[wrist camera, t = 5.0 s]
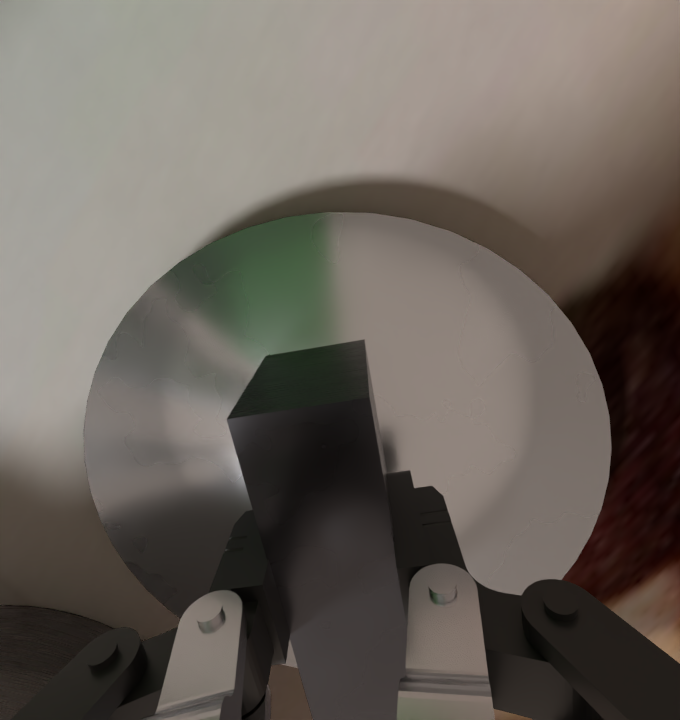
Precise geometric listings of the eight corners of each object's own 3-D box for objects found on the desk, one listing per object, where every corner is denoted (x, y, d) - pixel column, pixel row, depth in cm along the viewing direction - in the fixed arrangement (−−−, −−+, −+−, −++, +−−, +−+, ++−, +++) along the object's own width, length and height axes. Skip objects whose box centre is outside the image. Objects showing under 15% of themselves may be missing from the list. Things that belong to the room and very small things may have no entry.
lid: (28, 267, 13) (-173, 301, 8) (590, 159, 12) (763, 120, 7) (184, 661, 18) (119, 833, 13) (591, 618, 17) (692, 790, 12)
